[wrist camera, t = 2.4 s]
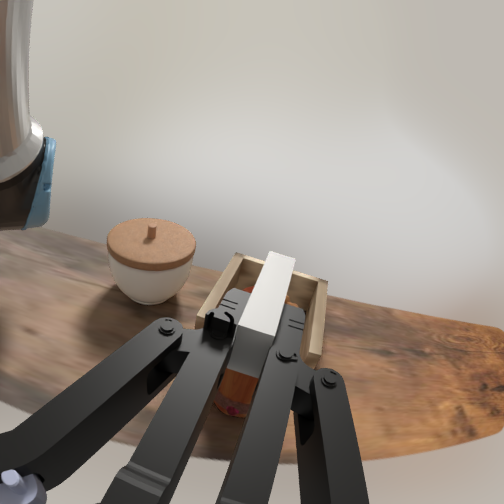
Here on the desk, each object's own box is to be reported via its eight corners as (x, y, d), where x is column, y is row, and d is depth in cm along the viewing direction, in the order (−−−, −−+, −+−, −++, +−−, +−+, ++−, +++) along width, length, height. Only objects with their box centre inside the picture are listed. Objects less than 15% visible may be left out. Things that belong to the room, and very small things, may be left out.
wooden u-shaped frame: (191, 349, 40) (196, 315, 37) (229, 283, 54) (235, 252, 51) (304, 386, 38) (321, 355, 35) (315, 310, 52) (327, 281, 50)
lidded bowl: (125, 260, 53) (127, 200, 48) (195, 276, 54) (205, 216, 48) (95, 305, 42) (90, 237, 37) (179, 326, 43) (186, 258, 37)
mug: (261, 439, 30) (309, 349, 23) (190, 414, 31) (205, 314, 24) (286, 351, 43) (322, 259, 36) (229, 332, 44) (253, 237, 37)
